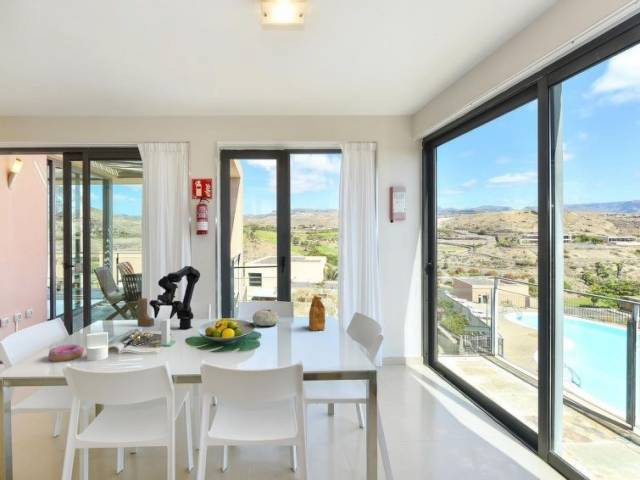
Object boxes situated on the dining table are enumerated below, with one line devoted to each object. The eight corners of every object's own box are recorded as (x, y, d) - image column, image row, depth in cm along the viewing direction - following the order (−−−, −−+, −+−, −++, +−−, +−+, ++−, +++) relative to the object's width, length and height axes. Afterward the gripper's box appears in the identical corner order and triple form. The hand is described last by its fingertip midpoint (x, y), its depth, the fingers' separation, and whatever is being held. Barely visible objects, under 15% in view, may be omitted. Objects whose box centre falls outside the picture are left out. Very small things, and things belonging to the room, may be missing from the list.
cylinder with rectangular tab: (85, 362, 172) (85, 337, 171) (87, 356, 180) (87, 332, 179) (107, 359, 176) (107, 334, 176) (108, 353, 184) (108, 330, 184)
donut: (78, 351, 188) (78, 341, 188) (87, 357, 179) (87, 347, 179) (44, 358, 177) (44, 348, 177) (53, 365, 168) (53, 354, 168)
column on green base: (161, 342, 203) (161, 317, 203) (175, 342, 204) (175, 317, 203) (155, 346, 195) (155, 321, 195) (170, 346, 196) (170, 321, 195)
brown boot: (154, 324, 241) (154, 298, 241) (151, 326, 237) (151, 299, 237) (140, 324, 241) (140, 298, 241) (137, 326, 237) (137, 299, 236)
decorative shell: (277, 328, 234) (277, 313, 234) (250, 328, 235) (250, 313, 234) (280, 321, 252) (280, 307, 252) (255, 321, 252) (255, 307, 252)
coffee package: (321, 325, 242) (322, 293, 241) (326, 330, 230) (326, 296, 229) (307, 326, 240) (307, 294, 239) (311, 331, 227) (311, 297, 227)
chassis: (142, 337, 212) (142, 330, 212) (156, 340, 207) (156, 333, 207) (123, 342, 201) (123, 335, 201) (137, 346, 196) (137, 338, 196)
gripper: (148, 287, 208) (140, 313, 201) (178, 288, 206) (171, 314, 198) (157, 294, 218) (150, 319, 210) (186, 295, 216) (180, 320, 208)
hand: (162, 318), depth 207 cm, fingers open, 9 cm apart
